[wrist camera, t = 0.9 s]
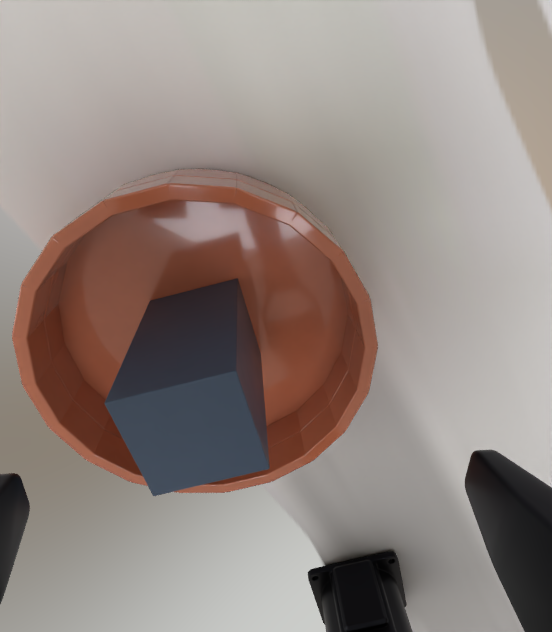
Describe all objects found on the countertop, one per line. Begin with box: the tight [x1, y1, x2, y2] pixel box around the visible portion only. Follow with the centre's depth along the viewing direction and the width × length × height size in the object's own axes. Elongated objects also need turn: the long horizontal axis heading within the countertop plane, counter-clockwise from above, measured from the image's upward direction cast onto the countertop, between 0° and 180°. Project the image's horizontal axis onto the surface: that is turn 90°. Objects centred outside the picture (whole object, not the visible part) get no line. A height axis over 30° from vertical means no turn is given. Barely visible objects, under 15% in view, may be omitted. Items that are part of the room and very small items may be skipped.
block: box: [105, 278, 270, 496], centre depth 19 cm, size 4×4×8 cm
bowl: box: [12, 169, 378, 493], centre depth 21 cm, size 15×15×4 cm
